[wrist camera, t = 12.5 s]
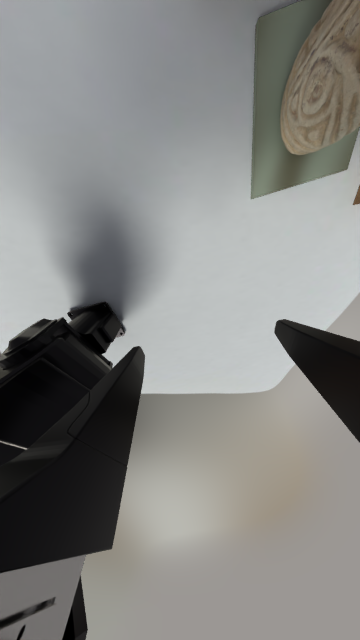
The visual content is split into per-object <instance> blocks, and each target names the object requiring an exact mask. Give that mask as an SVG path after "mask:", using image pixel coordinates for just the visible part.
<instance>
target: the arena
mask: <svg viewBox="0 0 360 640" xmlns="http://www.w3.org/2000/svg"><path fill="white" fill-rule="evenodd" d="M331 2H332V0H301V1H299V2H297V3H294V4H292V5H289V6H287V7H284V8H282V9H279V10H277V11H274V12H272V13H269V14H267V15H265V16H262V17H260V18H259V19H258V21H257V24H256V37H255V72H254V107H253V142H252V178H251V199H254V198H257V197H260V196H264V195H267V194H270V193H273V192H276V191H280V190H283V189H286V188H289V187H293V186H296V185H299V184H302V183H306V182H309V181H312V180H315V179H319V178H322V177H325V176H328V175H331V174H335V173H338V172H341V171H344V170H347V168H348V165H349V162H350V158H351V155H352V152H353V148H354V145H355V141H356V138H357V135H358V131H359V128H360V126H359V127H358V128H357V129H356V130H355V131H353V132H352V133H350V134H348V135H345V136H344V137H343V138H342V139H341V140H339V141H338V142H336V143H334V144H332V145H329V146H327V147H324V148H322V149H320V150H318V151H316V152H313V153H308V154H304V155H296V154H292V153H290V152H289V151H288V150H287V148H286V146H285V144H284V142H283V140H282V137H281V132H280V114H281V105H282V99H283V95H284V91H285V87H286V84H287V81H288V78H289V75H290V73H291V70H292V67H293V64H294V62H295V60H296V58H297V55H298V53H299V51H300V49H301V47H302V45H303V44H304V42H305V41H306V39H307V38H308V36H309V35H310V33H311V31H312V29H313V27H314V26H315V25H316V23H317V22H318V21H319V20H320V19H321V18H322V15H323V13H324V12H325V10H326V8H327V7H328V6H329V4H330V3H331ZM355 204H360V186H359V189H358V192H357V195H356V198H355V201H354V204H353V205H355Z"/></svg>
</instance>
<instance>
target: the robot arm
mask: <svg viewBox="0 0 360 640" xmlns="http://www.w3.org/2000/svg"><path fill="white" fill-rule="evenodd" d="M103 304H104V305H106V306H104V305H103ZM67 314H68V316H69V317H70V318H71V320H72V321H71V322H69V323H67V322H66V320H65V319H64V318H63V317H62V318H60V319H58V320H56V319H55V320H48V319H42V320H40V321H38V322H36V323H35V324H33V325H31V326H30V327H28V328H27V329H25V330H23V331H22V332H21V333H19V334H18V335H17V336H16V337H14V338H13V339H12V340H10V341H9V346H8V348H7V349H6V350H5V351H4V352H3V353H2V354H1V355H0V640H85V639H86V634H87V630H88V629H87V622H86V613H85V606H84V598H83V590H82V583H81V571H82V568H83V564H84V561H85V557H86V555H87V554H91V553H96V552H100V551H105V550H110V549H112V545H113V540H114V535H115V530H116V525H117V520H118V514H119V509H120V503H121V498H122V492H123V487H124V482H125V476H126V471H127V464H128V459H129V454H130V448H131V443H132V438H133V432H134V427H135V421H136V416H137V410H138V405H139V399H140V394H141V389H142V383H143V376H144V363H145V355H144V352H143V351H142V349H141V347H140V346H137V347H133V348H132V349H131V350H130V351H129V352H128V353H127V354H126V355H125V356H124V357H123V358H122V359H121V360H120V361H119V362H118V363H117V364H116V365H115V366H114V367H113V368H112V365H113V363H111V362H110V361H108V360H107V359H106V358H105V357H104V356H103V355H102V354H103V353H105V352H106V351H107V349H108V347H109V345H110V344H111V342H113V341H114V339H115V338H116V337H120V336H123V335H124V334H125V331H124V330H123V328H122V325H121V323H120V322H119V320H118V318H117V317H116V315H115V314H114V313H113V311H112V310H111V308H110V306H109V305H108V303H106V302H101V303H98V304H94V305H90V306H87V307H83V308H79V309H76V310H72V311H70V312H68V313H67ZM72 314H73V315H72ZM121 332H122V333H121ZM275 335H276V336H277V338H278V339H279V341H280V342H281V344H282V346H283V347H284V349H285V350H286V352H287V353H288V355H289V356H290V357H291V358H292V360H293V361H294V362H295V363H296V365H297V366H298V367H299V368H300V370H301V371H302V372H303V373H304V375H305V376H306V377H307V378H308V379H309V381H310V382H311V383H312V384H313V386H314V387H315V388H316V389H317V391H318V392H319V393H320V394H321V396H322V397H323V398H324V399H325V400H326V402H327V403H328V404H329V405H330V407H331V408H332V409H333V410H334V412H335V413H336V414H337V415H338V417H339V418H340V419H341V420H342V421H343V423H344V424H345V425H346V426H347V427H348V429H349V430H350V431H351V433H352V434H353V435H354V436H355V438H356V439H357V440H358V441H359V442H360V341H357V340H353V339H350V338H346V337H343V336H340V335H336V334H333V333H330V332H326V331H323V330H320V329H316V328H313V327H309V326H306V325H303V324H299V323H296V322H293V321H289V320H286V319H283V320H278V321H277V322H276V326H275Z"/></svg>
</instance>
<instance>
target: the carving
mask: <svg viewBox="0 0 360 640" xmlns="http://www.w3.org/2000/svg"><path fill="white" fill-rule="evenodd" d="M359 126H360V0H332V2H331V3H330V4H329V6H328V7H327V8H326V10H325V12H324V13H323V15H322V18H321V19H320V20H319V21H318V22H317V23H316V25H315V26H314V27H313V29H312V31H311V33H310V35H309V36H308V38H307V39H306V41H305V42H304V44H303V45H302V47H301V49H300V51H299V53H298V55H297V58H296V60H295V62H294V64H293V67H292V70H291V73H290V75H289V78H288V81H287V84H286V87H285V91H284V95H283V99H282V105H281V114H280V132H281V137H282V140H283V142H284V144H285V146H286V148H287V150H288V151H289V152H290V153H292V154H296V155H304V154H308V153H313V152H316V151H318V150H320V149H322V148H324V147H327V146H329V145H332V144H334V143H336V142H338V141H339V140H341V139H342V138H343V137H344V136H345V135H348V134H350V133H352V132H353V131H355V130H356V129H357V128H358V127H359Z"/></svg>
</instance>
